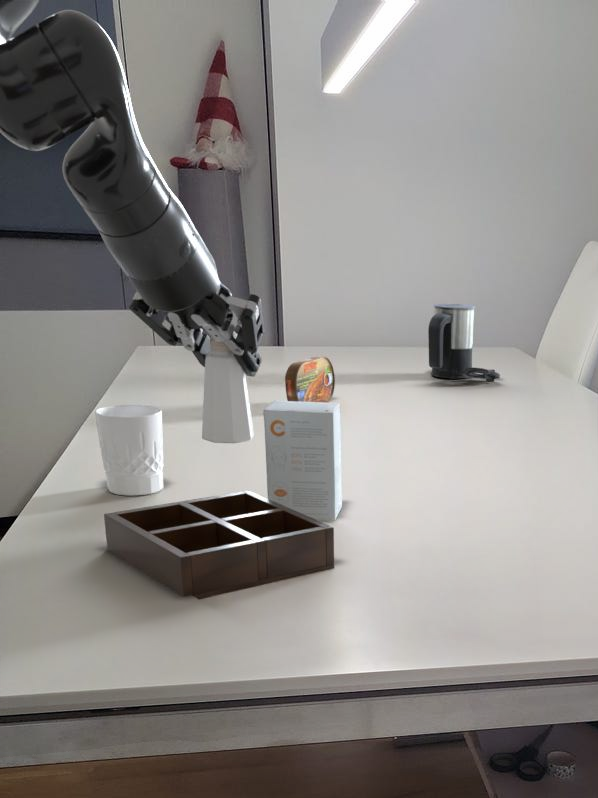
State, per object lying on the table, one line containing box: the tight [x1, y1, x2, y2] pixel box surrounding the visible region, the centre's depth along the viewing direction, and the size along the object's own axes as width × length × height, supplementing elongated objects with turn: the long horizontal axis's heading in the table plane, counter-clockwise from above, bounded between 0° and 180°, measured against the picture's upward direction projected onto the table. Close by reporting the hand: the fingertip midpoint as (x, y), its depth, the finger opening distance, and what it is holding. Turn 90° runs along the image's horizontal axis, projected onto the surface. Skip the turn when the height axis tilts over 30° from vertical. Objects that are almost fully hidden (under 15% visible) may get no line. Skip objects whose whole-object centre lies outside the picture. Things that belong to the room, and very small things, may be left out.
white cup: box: [94, 404, 164, 497], centre depth 130 cm, size 8×8×10 cm
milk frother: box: [427, 303, 501, 383], centre depth 220 cm, size 14×16×15 cm
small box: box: [262, 400, 343, 522], centre depth 123 cm, size 8×6×13 cm
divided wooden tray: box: [103, 490, 335, 600], centre depth 107 cm, size 17×17×4 cm
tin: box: [284, 356, 336, 403], centre depth 186 cm, size 15×3×8 cm, turn 161°
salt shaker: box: [201, 331, 255, 444], centre depth 106 cm, size 5×5×11 cm
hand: (234, 367), depth 107 cm, fingers closed on salt shaker, 4 cm apart
